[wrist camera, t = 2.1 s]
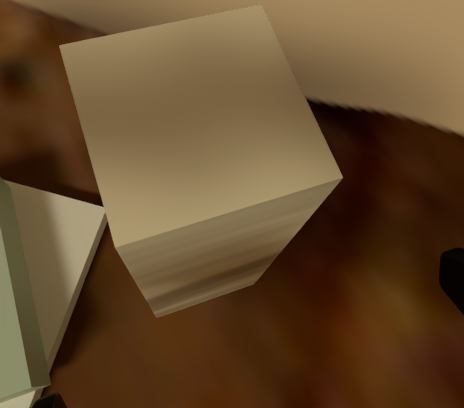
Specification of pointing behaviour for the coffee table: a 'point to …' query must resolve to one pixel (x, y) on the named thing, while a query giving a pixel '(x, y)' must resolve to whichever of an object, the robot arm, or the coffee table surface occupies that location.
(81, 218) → the board
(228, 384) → the coffee table surface
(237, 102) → the birch cabinet block
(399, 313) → the coffee table surface
